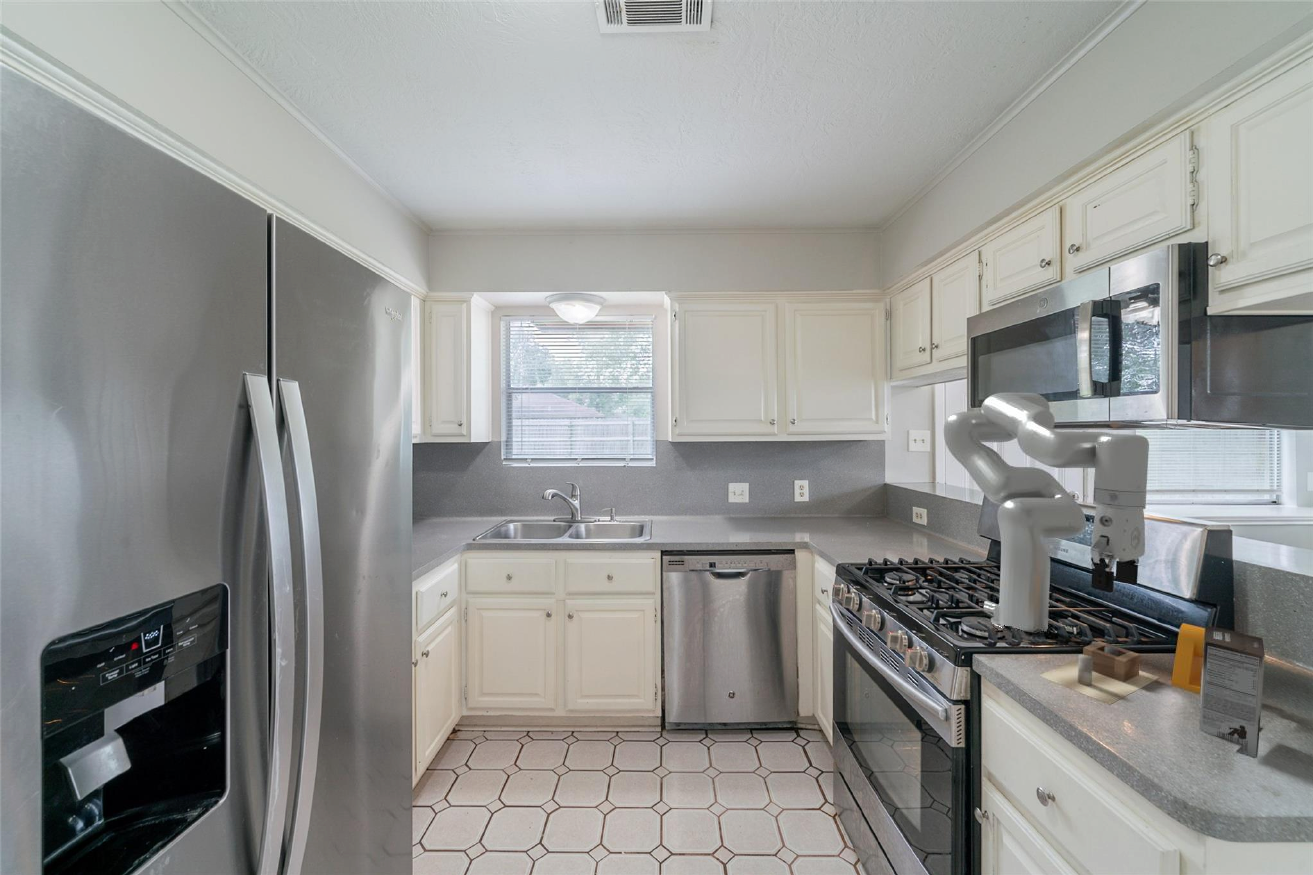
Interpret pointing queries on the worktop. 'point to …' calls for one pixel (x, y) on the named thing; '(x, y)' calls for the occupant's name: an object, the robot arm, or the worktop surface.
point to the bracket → (1189, 658)
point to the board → (1096, 679)
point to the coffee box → (1232, 687)
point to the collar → (1113, 662)
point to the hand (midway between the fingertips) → (1114, 586)
